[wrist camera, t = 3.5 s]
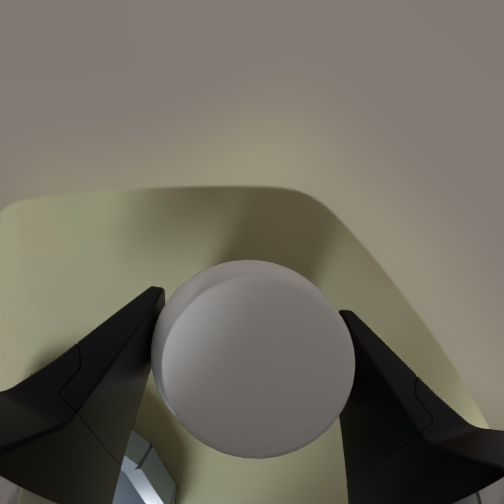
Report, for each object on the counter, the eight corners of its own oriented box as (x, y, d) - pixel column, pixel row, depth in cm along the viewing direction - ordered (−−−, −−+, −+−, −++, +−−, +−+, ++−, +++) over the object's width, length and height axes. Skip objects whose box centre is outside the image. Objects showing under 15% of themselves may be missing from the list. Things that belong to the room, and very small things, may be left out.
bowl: (206, 528, 12) (205, 554, 9) (72, 533, 9) (59, 550, 7) (121, 377, 14) (100, 388, 11) (-3, 404, 12) (-28, 411, 9)
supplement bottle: (304, 360, 15) (417, 406, 5) (213, 404, 14) (205, 519, 4) (259, 272, 16) (319, 193, 6) (168, 314, 15) (79, 301, 5)
